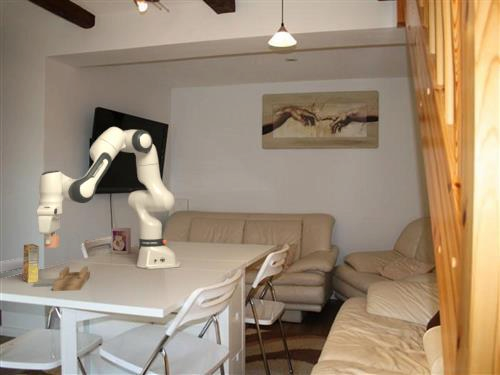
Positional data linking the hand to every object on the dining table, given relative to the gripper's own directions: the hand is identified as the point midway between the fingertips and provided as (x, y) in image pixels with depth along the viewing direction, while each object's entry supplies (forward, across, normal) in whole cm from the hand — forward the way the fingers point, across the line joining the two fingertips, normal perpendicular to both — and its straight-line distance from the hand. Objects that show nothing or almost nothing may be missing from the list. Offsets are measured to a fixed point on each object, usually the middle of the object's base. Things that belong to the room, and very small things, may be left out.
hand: (50, 242), depth 178 cm
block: (+2, 0, +1) cm, 2 cm away
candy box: (+17, -8, -10) cm, 21 cm away
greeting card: (+17, -83, +21) cm, 88 cm away
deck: (+17, 0, +9) cm, 19 cm away
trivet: (+17, -1, -1) cm, 17 cm away
